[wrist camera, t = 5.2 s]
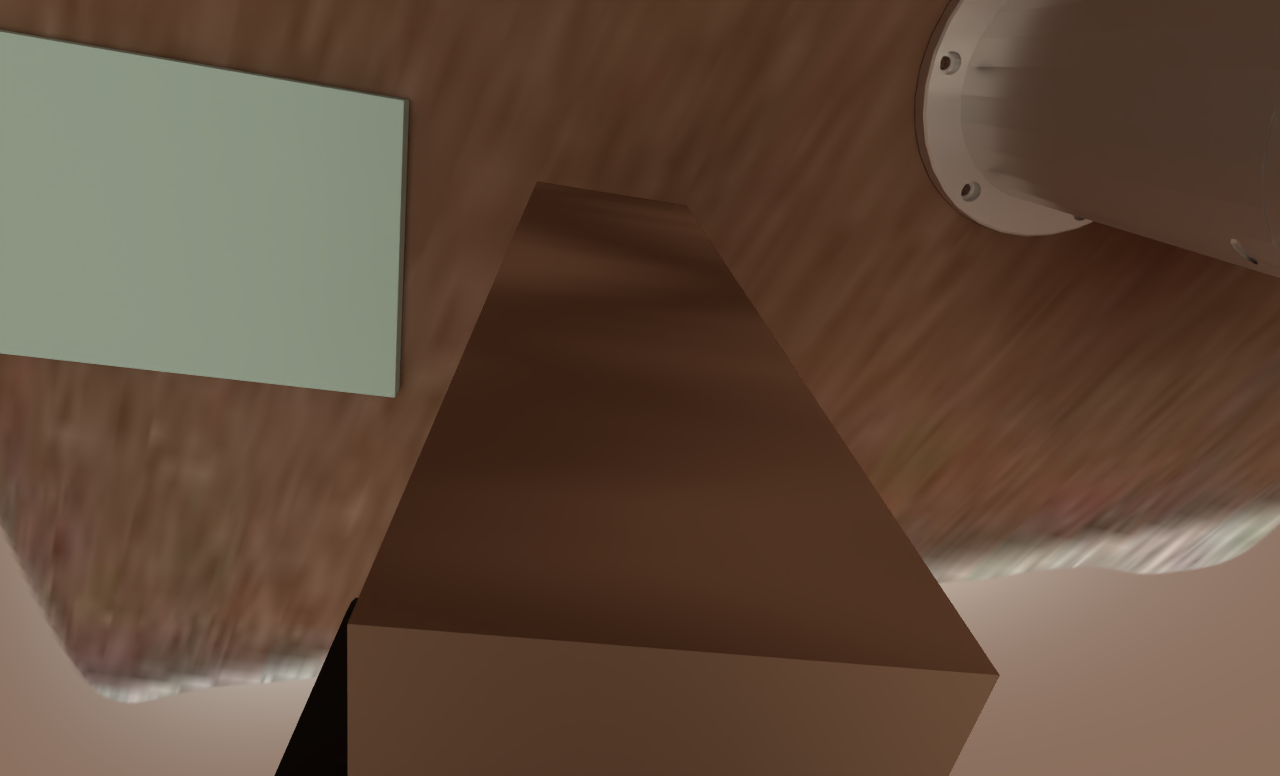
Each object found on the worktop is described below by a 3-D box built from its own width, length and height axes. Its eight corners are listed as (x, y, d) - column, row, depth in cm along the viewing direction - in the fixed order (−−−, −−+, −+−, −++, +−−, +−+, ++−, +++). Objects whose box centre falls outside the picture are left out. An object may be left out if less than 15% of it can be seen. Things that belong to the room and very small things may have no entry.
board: (686, 205, 14) (1001, 675, 3) (611, 593, 18) (644, 1371, 7) (536, 181, 14) (346, 624, 3) (494, 582, 18) (348, 1388, 7)
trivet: (409, 99, 29) (404, 100, 28) (399, 388, 34) (394, 397, 33) (-155, 2, 26) (-182, 0, 25) (-72, 334, 31) (-91, 343, 30)
